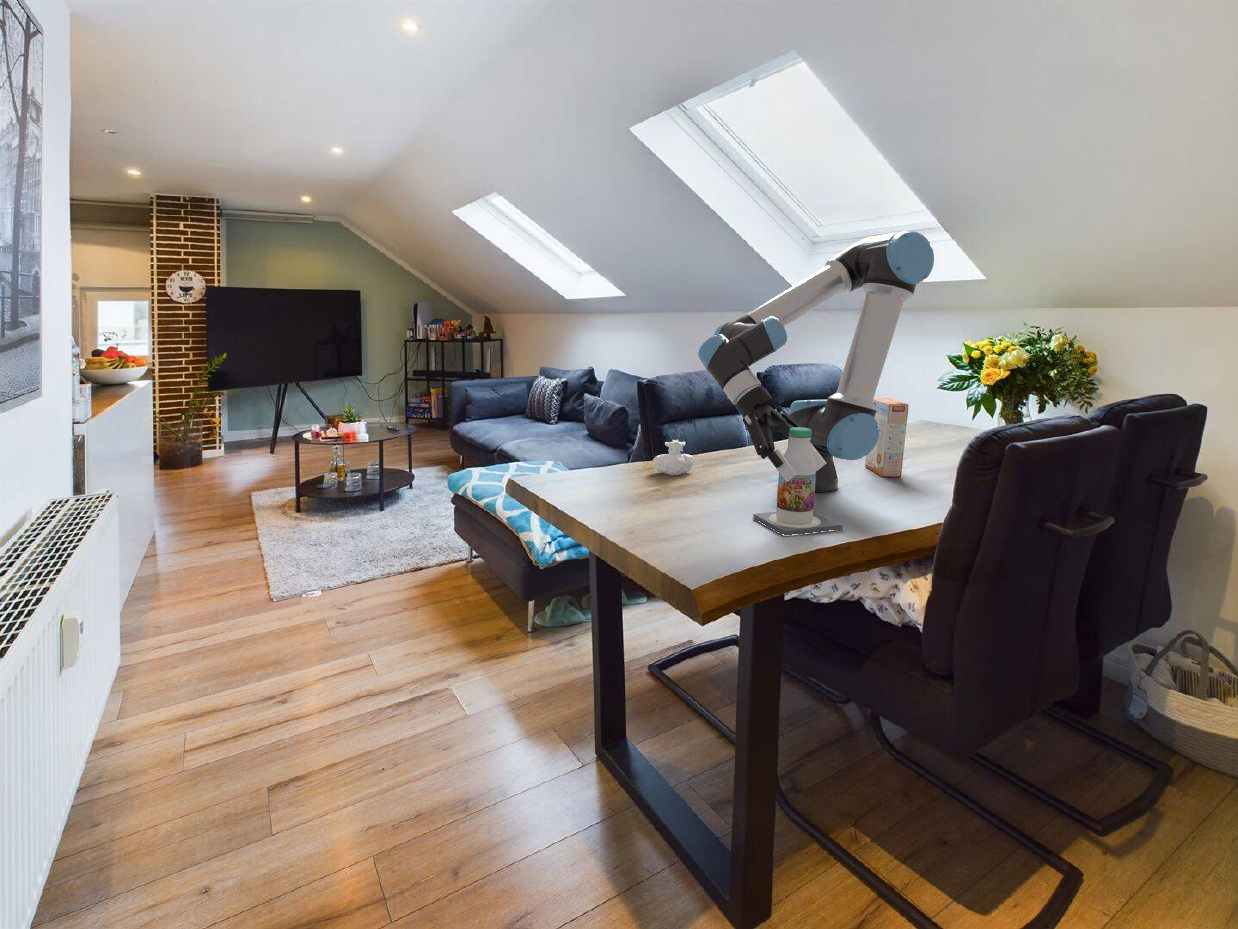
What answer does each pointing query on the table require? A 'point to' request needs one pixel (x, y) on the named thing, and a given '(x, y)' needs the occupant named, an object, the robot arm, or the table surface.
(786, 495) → the milk bottle
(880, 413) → the cracker box
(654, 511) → the table surface
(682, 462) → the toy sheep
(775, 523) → the slate board
